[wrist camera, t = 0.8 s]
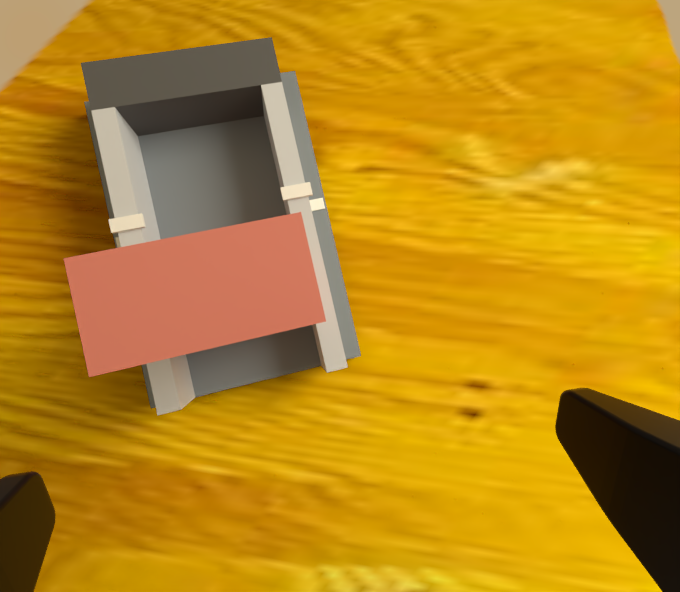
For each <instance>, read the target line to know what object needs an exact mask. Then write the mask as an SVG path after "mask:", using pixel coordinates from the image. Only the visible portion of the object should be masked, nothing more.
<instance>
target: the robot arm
mask: <svg viewBox="0 0 680 592" xmlns="http://www.w3.org/2000/svg"><path fill="white" fill-rule="evenodd" d="M555 428H556V434H557V437H558V439H559V441H560V443H561V445H562V446H563V448H564V449H565V451H566V453H567V454H568V456H569V457H570V459H571V461H572V462H573V464H574V465H575V467H576V469H577V470H578V472H579V474H580V475H581V477H582V478H583V480H584V482H585V483H586V485H587V486H588V488H589V490H590V491H591V493H592V494H593V496H594V498H595V499H596V501H597V502H598V504H599V506H600V507H601V509H602V510H603V512H604V513H605V515H606V516H607V518H608V519H609V520H610V522H611V523H612V525H613V526H614V527H615V529H616V530H617V531H618V533H619V534H620V535H621V537H622V538H623V539H624V541H625V542H626V543H627V545H628V546H629V547H630V549H631V550H632V551H633V553H634V554H635V555H636V557H637V558H638V559H639V561H640V562H641V563H642V565H643V566H644V567H645V569H646V570H647V571H648V573H649V574H650V576H651V577H652V578H653V580H654V581H655V582H656V584H657V585H658V586H659V588H660V589H661V590H662V592H680V421H679V420H676V419H674V418H671V417H668V416H665V415H662V414H659V413H657V412H654V411H651V410H648V409H645V408H642V407H640V406H637V405H634V404H631V403H628V402H625V401H623V400H620V399H617V398H614V397H611V396H608V395H606V394H603V393H600V392H597V391H594V390H591V389H588V388H577V389H570V390H566V391H564V392H563V393H562V394H561V396H560V401H559V407H558V413H557V419H556V425H555ZM54 524H55V510H54V506H53V504H52V501H51V499H50V496H49V494H48V491H47V489H46V486H45V484H44V481H43V479H42V477H41V475H40V474H38V473H37V472H25V473H18V474H12V475H8V476H5V477H3V478H2V479H0V592H34V589H35V586H36V582H37V579H38V576H39V573H40V570H41V566H42V563H43V560H44V557H45V554H46V550H47V547H48V544H49V541H50V538H51V534H52V531H53V528H54Z"/></svg>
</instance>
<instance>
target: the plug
mask: <svg viewBox="0 0 680 592" xmlns="http://www.w3.org/2000/svg"><path fill="white" fill-rule="evenodd" d="M64 263H65V267H66V272H67V277H68V281H69V286H70V291H71V295H72V300H73V305H74V309H75V314H76V319H77V323H78V328H79V333H80V337H81V342H82V347H83V352H84V356H85V361H86V366H87V370H88V375H89V377H92V376H96V375H101V374H105V373H109V372H113V371H118V370H122V369H126V368H130V367H135V366H139V365H143V364H147V363H152V362H156V361H160V360H164V359H169V358H173V357H177V356H181V355H185V354H190V353H194V352H198V351H202V350H207V349H211V348H215V347H219V346H224V345H228V344H232V343H236V342H241V341H245V340H249V339H253V338H258V337H262V336H266V335H270V334H275V333H279V332H283V331H287V330H292V329H296V328H300V327H304V326H309V325H313V324H317V323H321V322H326V318H325V314H324V309H323V305H322V301H321V296H320V292H319V288H318V283H317V279H316V275H315V270H314V266H313V262H312V257H311V253H310V249H309V244H308V240H307V236H306V231H305V227H304V223H303V218H302V214H301V212H298V213H293V214H288V215H283V216H278V217H273V218H267V219H262V220H257V221H252V222H247V223H242V224H237V225H232V226H227V227H222V228H216V229H211V230H206V231H201V232H196V233H191V234H186V235H181V236H176V237H170V238H165V239H160V240H155V241H150V242H145V243H140V244H135V245H130V246H125V247H119V248H114V249H109V250H104V251H99V252H94V253H89V254H84V255H79V256H73V257H68V258H64Z"/></svg>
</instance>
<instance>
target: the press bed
mask: <svg viewBox="0 0 680 592" xmlns="http://www.w3.org/2000/svg"><path fill="white" fill-rule="evenodd" d="M81 66H82V70H83V75H84V80H85V84H86V89H87V93H88V98H89V101H88V102H84V103H85V107H86V112H87V116H88V121H89V126H90V130H91V135H92V139H93V144H94V149H95V153H96V158H97V162H98V167H99V172H100V176H101V181H102V185H103V190H104V195H105V199H106V204H107V208H108V213H109V218H110V219H108V220H109V225H110V229H111V233H113V236H114V241H115V245H116V248H119V247H125V246H130V245H135V244H140V243H145V242H150V241H155V240H160V239H165V238H170V237H176V236H181V235H186V234H191V233H196V232H201V231H206V230H211V229H216V228H222V227H227V226H232V225H237V224H242V223H247V222H252V221H257V220H262V219H267V218H273V217H278V216H283V215H288V214H293V213H298V212H301V214H302V218H303V223H304V227H305V231H306V236H307V240H308V244H309V249H310V253H311V257H312V262H313V266H314V270H315V275H316V279H317V283H318V288H319V292H320V296H321V301H322V305H323V309H324V314H325V318H326V322H321V323H317V324H313V325H309V326H304V327H300V328H296V329H292V330H287V331H283V332H279V333H275V334H270V335H266V336H262V337H258V338H253V339H249V340H245V341H241V342H236V343H232V344H228V345H224V346H219V347H215V348H211V349H207V350H202V351H198V352H194V353H190V354H185V355H181V356H177V357H173V358H169V359H164V360H160V361H156V362H152V363H147V364H143V365H142V369H143V374H144V379H145V383H146V388H147V392H148V397H149V402H150V406H151V408H155V407H156V410H157V415H162V414H166V413H170V412H174V411H177V410H181V409H182V408H183V407H185V406H186V405H187V404H188V403H189V402H190V401H192V400H193V399H194V398H195V397H198V396H202V395H206V394H210V393H214V392H218V391H222V390H226V389H230V388H234V387H238V386H242V385H246V384H250V383H254V382H258V381H262V380H266V379H270V378H274V377H278V376H282V375H286V374H290V373H294V372H298V371H302V370H306V369H310V368H314V367H318V366H322V367H323V368H324V370H325V371H326V372H327V373H328V372H331V371H335V370H339V369H343V368H347V367H348V366H347V361H346V359H350V358H354V357H358V356H361V354H360V349H359V345H358V341H357V336H356V332H355V328H354V323H353V319H352V315H351V310H350V306H349V302H348V298H347V293H346V289H345V285H344V280H343V276H342V272H341V267H340V263H339V259H338V255H337V250H336V246H335V242H334V237H333V233H332V229H331V224H330V220H329V216H328V212H327V207H326V203H325V199H324V194H323V190H322V186H321V181H320V177H319V173H318V168H317V164H316V160H315V156H314V151H313V147H312V143H311V138H310V134H309V130H308V125H307V121H306V117H305V113H304V108H303V104H302V100H301V95H300V91H299V87H298V82H297V78H296V74H295V71H292V72H285V73H280V72H279V67H278V63H277V59H276V54H275V50H274V46H273V41H272V37H271V38H263V39H256V40H249V41H241V42H234V43H226V44H219V45H211V46H204V47H197V48H189V49H182V50H174V51H167V52H160V53H152V54H145V55H137V56H130V57H122V58H115V59H108V60H100V61H93V62H85V63H81Z"/></svg>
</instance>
